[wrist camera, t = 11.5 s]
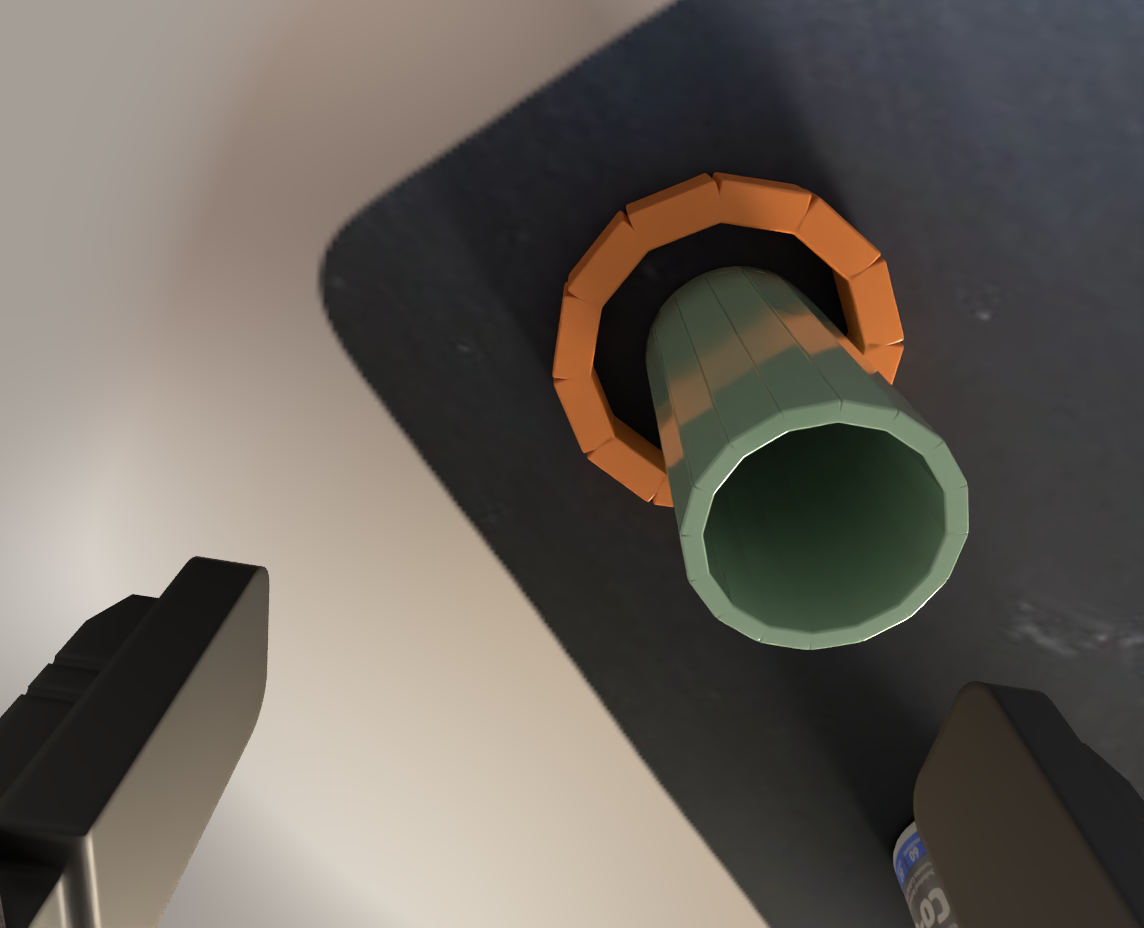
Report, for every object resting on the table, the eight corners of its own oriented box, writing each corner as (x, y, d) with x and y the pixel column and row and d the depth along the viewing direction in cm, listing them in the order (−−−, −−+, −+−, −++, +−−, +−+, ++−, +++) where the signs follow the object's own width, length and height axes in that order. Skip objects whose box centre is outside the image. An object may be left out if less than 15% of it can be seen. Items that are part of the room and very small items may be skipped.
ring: (583, 150, 21) (583, 157, 20) (924, 204, 22) (948, 214, 20) (538, 464, 25) (535, 489, 23) (829, 505, 25) (844, 531, 24)
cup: (667, 250, 22) (722, 377, 13) (843, 283, 23) (1015, 430, 13) (629, 416, 24) (654, 627, 15) (791, 445, 25) (910, 668, 16)
